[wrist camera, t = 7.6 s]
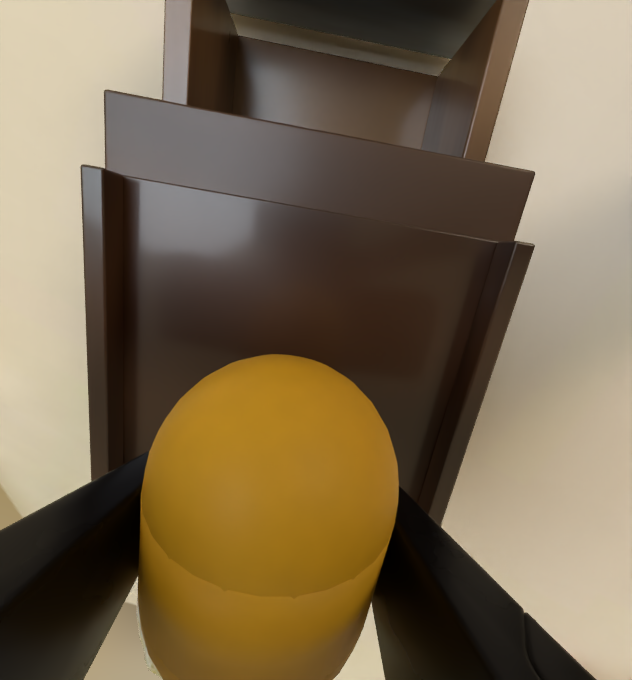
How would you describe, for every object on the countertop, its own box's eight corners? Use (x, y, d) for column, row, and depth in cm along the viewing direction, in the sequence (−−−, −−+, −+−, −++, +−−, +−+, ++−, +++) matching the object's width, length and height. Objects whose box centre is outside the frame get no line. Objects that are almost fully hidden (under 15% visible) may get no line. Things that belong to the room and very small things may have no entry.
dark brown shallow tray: (112, 174, 10) (79, 163, 8) (506, 243, 11) (536, 244, 9) (115, 497, 13) (91, 528, 12) (415, 533, 14) (427, 566, 13)
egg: (201, 313, 7) (61, 406, 3) (391, 344, 8) (490, 467, 4) (183, 536, 9) (78, 785, 5) (338, 554, 10) (362, 802, 5)
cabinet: (198, 159, 17) (102, 88, 9) (436, 202, 18) (537, 170, 10) (185, 404, 21) (109, 502, 13) (379, 430, 22) (420, 539, 14)
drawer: (224, -158, 13) (146, -527, 7) (501, -91, 14) (661, -368, 8) (197, 280, 18) (137, 302, 12) (403, 313, 19) (451, 350, 13)
